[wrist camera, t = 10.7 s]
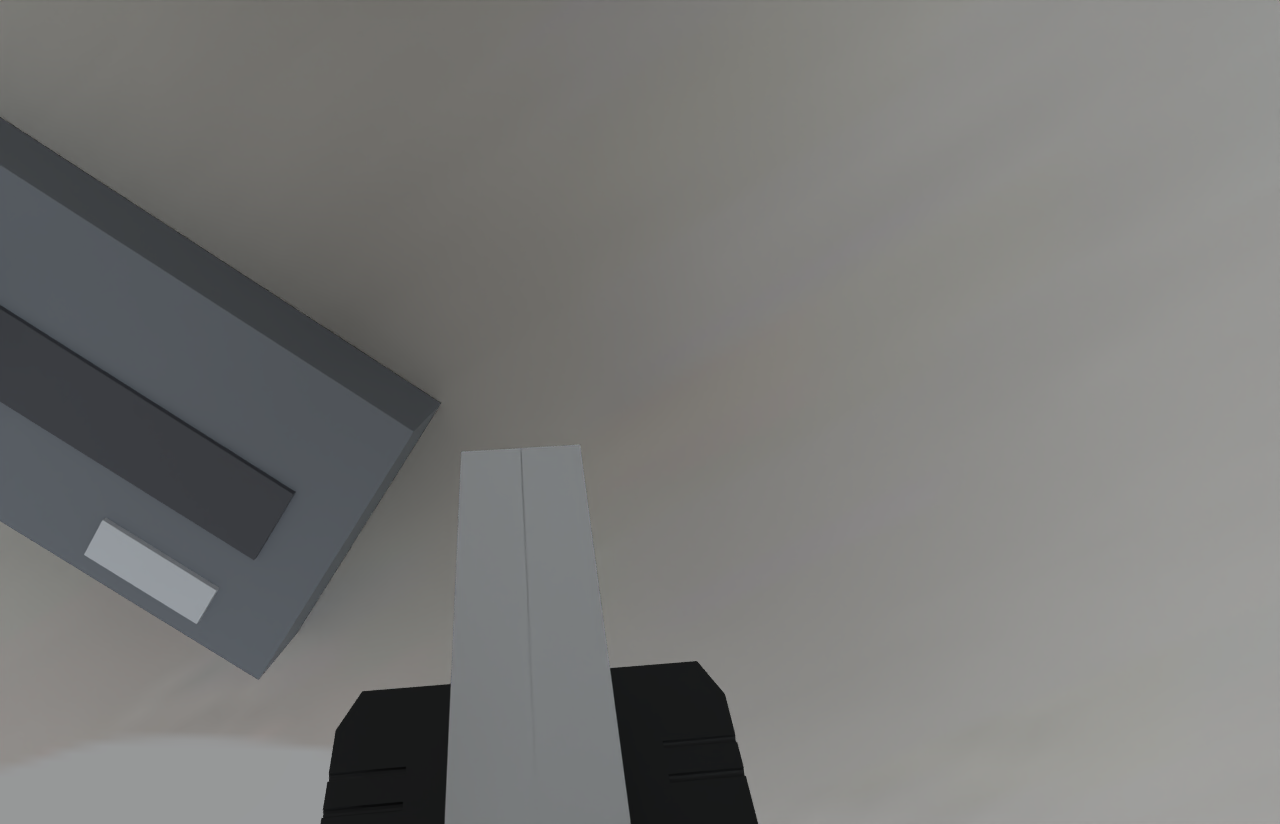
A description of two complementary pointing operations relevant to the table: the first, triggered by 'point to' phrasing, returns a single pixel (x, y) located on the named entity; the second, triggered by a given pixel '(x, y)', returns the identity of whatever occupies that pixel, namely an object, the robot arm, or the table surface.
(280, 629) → the switch panel
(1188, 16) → the table surface
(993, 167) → the table surface
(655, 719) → the robot arm
